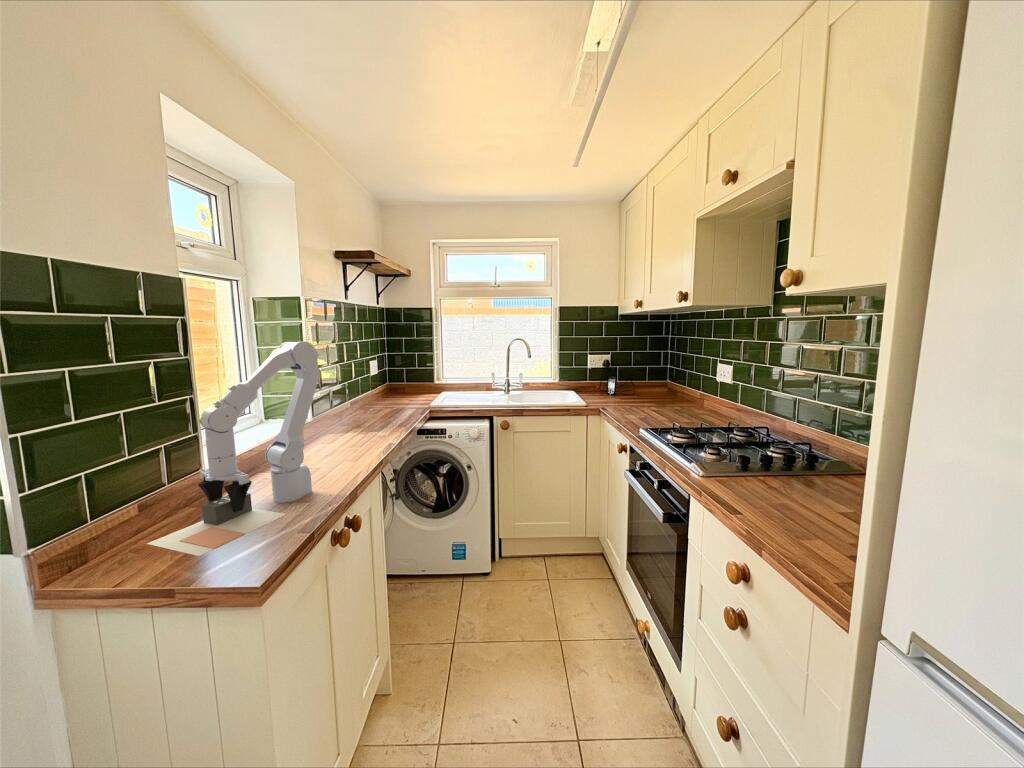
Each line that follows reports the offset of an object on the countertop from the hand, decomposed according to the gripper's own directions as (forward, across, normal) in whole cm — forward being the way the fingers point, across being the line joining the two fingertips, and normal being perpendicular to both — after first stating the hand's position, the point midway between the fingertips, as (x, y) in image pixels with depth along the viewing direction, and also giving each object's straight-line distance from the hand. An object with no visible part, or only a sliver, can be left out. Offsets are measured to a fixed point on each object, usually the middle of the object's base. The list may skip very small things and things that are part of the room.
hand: (227, 508), depth 104 cm
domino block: (+2, 0, 0) cm, 2 cm away
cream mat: (+3, +4, -5) cm, 7 cm away
